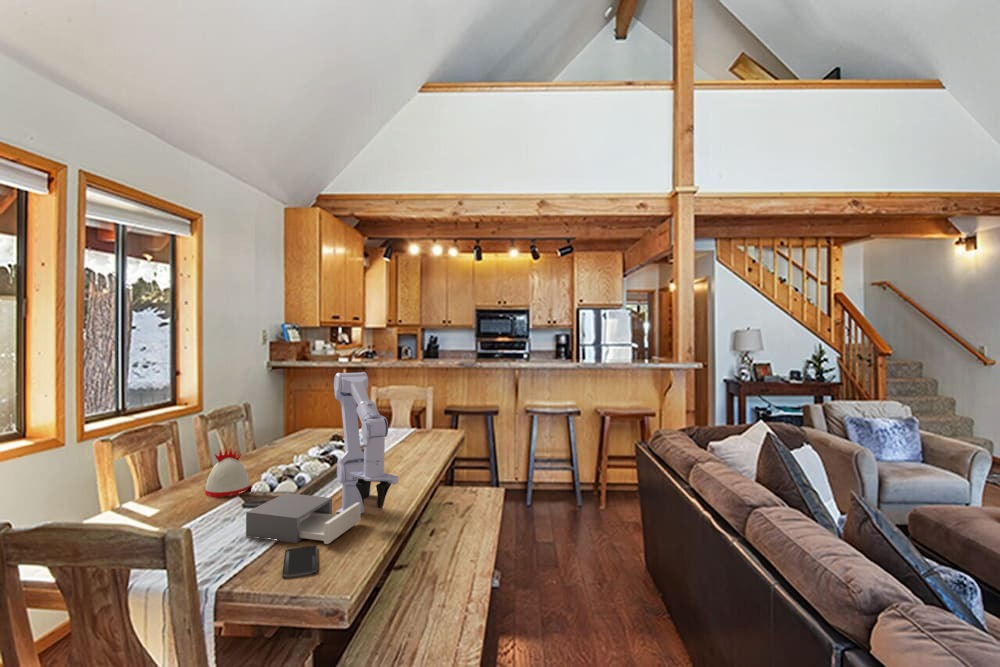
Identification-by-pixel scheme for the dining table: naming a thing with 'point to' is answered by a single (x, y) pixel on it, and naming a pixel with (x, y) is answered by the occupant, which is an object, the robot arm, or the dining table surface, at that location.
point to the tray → (328, 524)
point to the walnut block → (371, 505)
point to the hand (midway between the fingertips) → (373, 506)
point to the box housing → (284, 516)
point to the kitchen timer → (227, 476)
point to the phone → (300, 562)
